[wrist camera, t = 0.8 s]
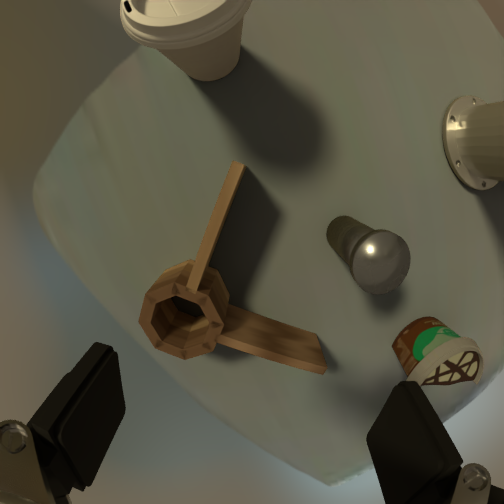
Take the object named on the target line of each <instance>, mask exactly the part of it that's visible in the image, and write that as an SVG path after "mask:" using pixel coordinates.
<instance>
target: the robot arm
mask: <svg viewBox="0 0 504 504" xmlns="http://www.w3.org/2000/svg"><path fill="white" fill-rule="evenodd" d="M443 143H444V148H445V152H446V156H447V159H448V161H449V164H450V166H451V168H452V169H453V171H454V173H455V174H456V176H457V177H458V178H459V179H460V180H461V181H462V182H463V183H464V184H465V185H467V186H468V187H470V188H473V189H476V190H488V189H490V188H492V187H494V186H495V185H496V184H497V183H498V182H499V181H504V101H501V102H495V103H489V104H487V103H486V102H484V101H483V100H481V99H479V98H478V97H474V96H463V97H459V98H457V99H455V100H454V101H453V102H452V103H451V104H450V105H449V107H448V109H447V110H446V113H445V116H444V120H443ZM125 408H126V407H125V401H124V395H123V389H122V382H121V375H120V368H119V361H118V354H117V352H115V351H114V350H113V347H112V346H109V345H106V344H102V343H99V342H95V343H94V344H93V345H92V346H91V347H90V349H89V350H88V351H87V352H86V353H85V355H84V356H83V357H82V358H81V360H80V361H79V362H78V363H77V364H76V366H75V367H74V368H73V370H72V371H71V372H69V373H67V374H66V375H65V376H64V377H63V378H62V379H61V381H60V382H59V383H58V385H57V386H56V387H55V388H54V389H53V391H52V392H51V393H50V395H49V396H48V397H47V398H46V400H45V401H44V402H43V404H42V405H41V406H40V407H39V409H38V410H37V411H36V413H35V414H34V415H33V417H32V418H31V419H30V421H29V422H28V423H27V425H25V424H23V423H22V422H20V421H17V420H5V421H2V422H0V504H72V502H71V500H70V497H69V495H68V494H69V493H70V491H71V489H72V487H74V488H76V489H78V490H81V491H84V489H85V487H86V486H88V487H89V486H91V485H92V483H93V480H94V478H95V476H96V474H97V472H98V469H99V467H100V465H101V463H102V461H103V459H104V457H105V454H106V452H107V450H108V448H109V446H110V444H111V441H112V439H113V437H114V435H115V433H116V431H117V429H118V427H119V425H120V423H121V421H122V419H123V417H124V414H125ZM366 441H367V445H368V448H369V451H370V454H371V457H372V460H373V464H374V467H375V470H376V473H377V476H378V480H379V483H380V487H381V490H382V493H383V496H384V500H385V504H504V489H501V488H498V487H496V486H493V485H491V477H490V474H489V472H488V471H487V469H486V468H484V467H483V466H481V465H480V464H476V463H471V464H467V465H465V466H464V467H463V468H461V466H460V465H461V464H462V463H463V460H462V458H461V456H460V454H459V452H458V450H457V449H456V447H455V445H454V443H453V442H452V440H451V438H450V436H449V434H448V433H447V431H446V429H445V427H444V426H443V424H442V422H441V420H440V419H439V417H438V415H437V414H436V412H435V410H434V409H433V407H432V405H431V404H430V402H429V400H428V399H427V397H426V395H425V394H424V392H423V391H422V389H421V387H420V386H419V384H418V383H417V382H416V381H401V382H400V383H399V384H398V385H396V386H395V387H394V388H393V390H392V392H391V394H390V396H389V398H388V400H387V401H386V403H385V405H384V407H383V409H382V410H381V412H380V414H379V416H378V417H377V419H376V421H375V422H374V424H373V426H372V427H371V429H370V431H369V432H368V434H367V438H366Z"/></svg>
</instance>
